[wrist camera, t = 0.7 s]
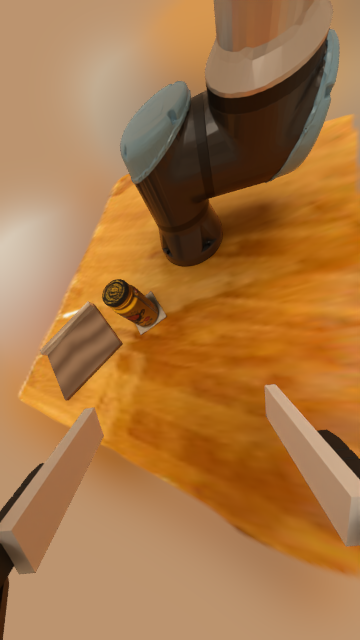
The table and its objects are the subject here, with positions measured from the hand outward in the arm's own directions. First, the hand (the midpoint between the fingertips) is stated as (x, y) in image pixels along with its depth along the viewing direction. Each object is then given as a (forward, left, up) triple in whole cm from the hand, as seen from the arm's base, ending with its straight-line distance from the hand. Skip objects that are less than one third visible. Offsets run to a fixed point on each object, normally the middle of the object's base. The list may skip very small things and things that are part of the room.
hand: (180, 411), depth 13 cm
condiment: (-16, -16, -19) cm, 30 cm away
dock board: (-7, -33, -19) cm, 39 cm away
